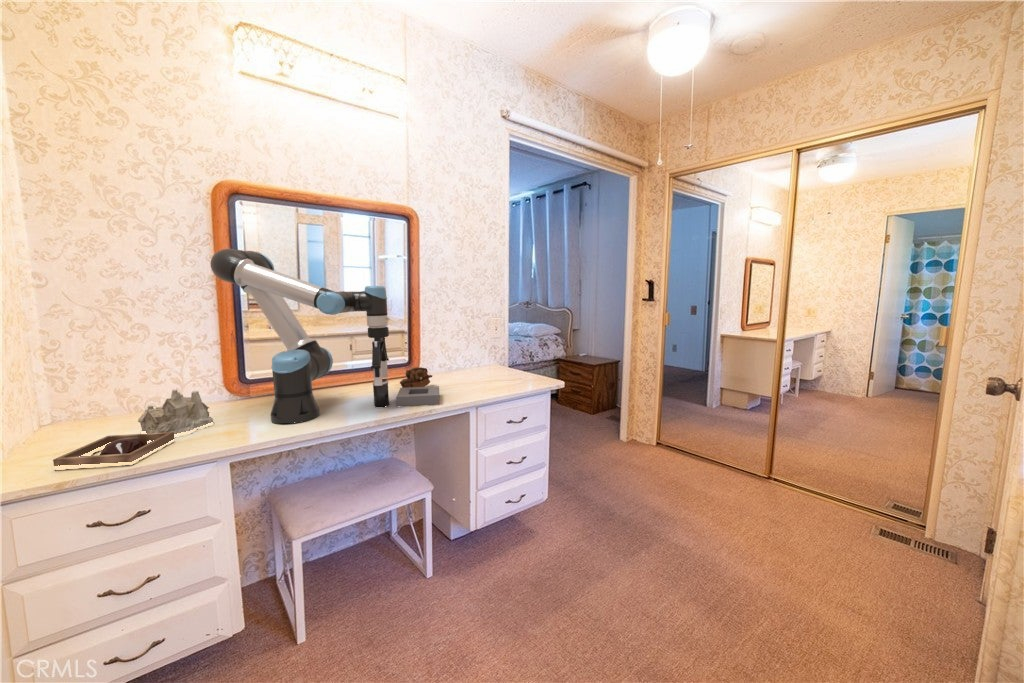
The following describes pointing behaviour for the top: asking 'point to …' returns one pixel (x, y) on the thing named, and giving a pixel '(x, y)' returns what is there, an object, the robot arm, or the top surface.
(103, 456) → the frame
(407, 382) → the wooden carving
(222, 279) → the robot arm
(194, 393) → the ceramic cottage
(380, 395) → the lens
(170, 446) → the top surface
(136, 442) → the heart ornament
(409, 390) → the grey recessed frame block
